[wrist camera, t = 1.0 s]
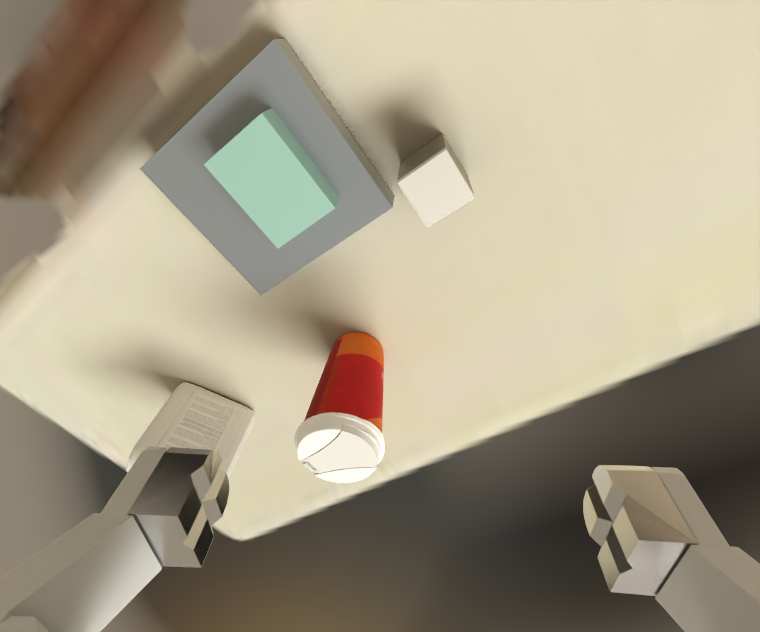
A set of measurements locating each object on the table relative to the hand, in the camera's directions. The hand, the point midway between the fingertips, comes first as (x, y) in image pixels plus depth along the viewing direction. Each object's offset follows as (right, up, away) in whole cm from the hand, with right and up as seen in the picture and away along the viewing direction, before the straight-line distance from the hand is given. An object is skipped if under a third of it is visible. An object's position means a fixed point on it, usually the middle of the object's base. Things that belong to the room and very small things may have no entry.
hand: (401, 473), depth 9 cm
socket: (-9, +15, +27) cm, 33 cm away
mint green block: (-8, +14, +24) cm, 30 cm away
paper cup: (-3, 0, +37) cm, 38 cm away
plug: (+4, +16, +26) cm, 31 cm away
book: (-21, -7, +44) cm, 49 cm away
